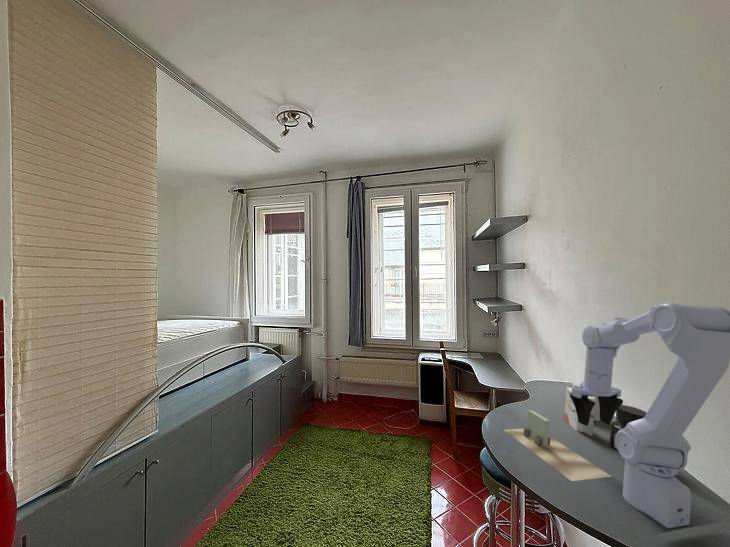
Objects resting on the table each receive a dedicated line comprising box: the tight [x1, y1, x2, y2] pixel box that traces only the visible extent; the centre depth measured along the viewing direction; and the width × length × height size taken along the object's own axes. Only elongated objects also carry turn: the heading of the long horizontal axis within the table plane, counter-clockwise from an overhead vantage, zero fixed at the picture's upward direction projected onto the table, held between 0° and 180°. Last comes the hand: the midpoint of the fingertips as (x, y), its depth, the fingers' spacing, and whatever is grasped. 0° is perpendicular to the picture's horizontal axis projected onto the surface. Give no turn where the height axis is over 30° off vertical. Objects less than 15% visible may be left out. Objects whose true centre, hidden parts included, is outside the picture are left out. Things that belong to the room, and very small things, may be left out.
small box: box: [572, 381, 601, 422], centre depth 106 cm, size 8×6×10 cm
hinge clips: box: [523, 427, 551, 446], centre depth 84 cm, size 6×4×2 cm
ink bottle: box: [608, 404, 647, 452], centre depth 83 cm, size 10×9×12 cm
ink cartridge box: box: [563, 380, 595, 437], centre depth 95 cm, size 9×5×15 cm, turn 168°
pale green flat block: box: [526, 409, 550, 446], centre depth 84 cm, size 6×2×7 cm, turn 14°
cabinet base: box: [504, 427, 613, 482], centre depth 79 cm, size 22×12×1 cm, turn 14°
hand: (594, 423), depth 78 cm, fingers open, 7 cm apart
